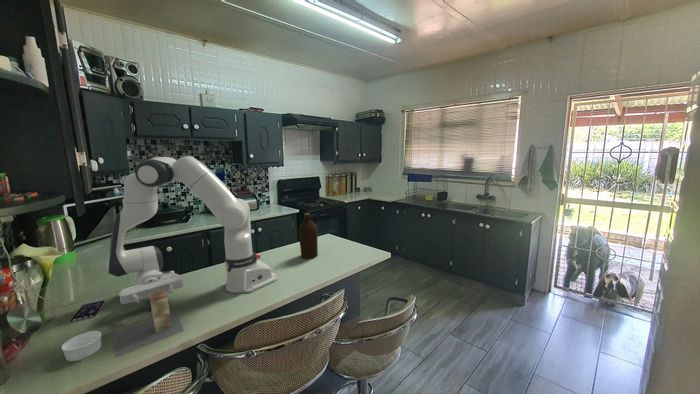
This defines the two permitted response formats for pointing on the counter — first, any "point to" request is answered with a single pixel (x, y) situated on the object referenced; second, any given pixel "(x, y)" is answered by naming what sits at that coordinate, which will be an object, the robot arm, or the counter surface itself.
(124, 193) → the robot arm
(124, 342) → the rubber mat
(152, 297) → the birch block
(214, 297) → the counter surface
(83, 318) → the smartphone
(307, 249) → the olive oil
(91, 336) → the ramekin
